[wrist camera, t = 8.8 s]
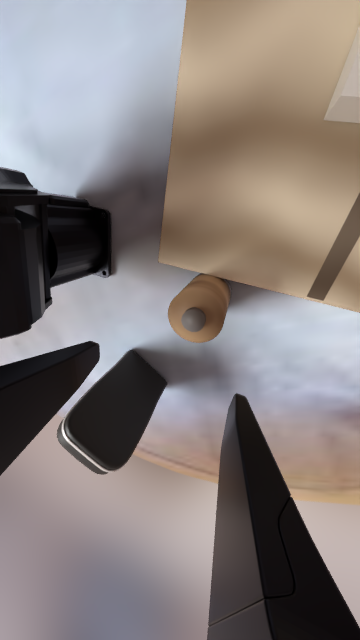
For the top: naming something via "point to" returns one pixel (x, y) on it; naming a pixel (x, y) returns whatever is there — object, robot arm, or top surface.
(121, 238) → the top surface
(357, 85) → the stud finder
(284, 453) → the top surface
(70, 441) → the battery charger
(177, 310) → the brown knobbed cylinder
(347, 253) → the plank
